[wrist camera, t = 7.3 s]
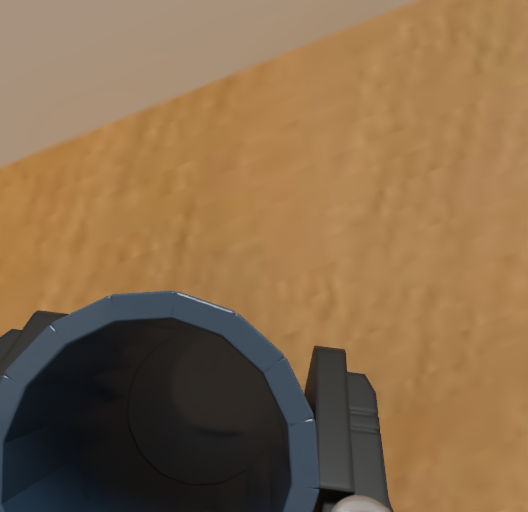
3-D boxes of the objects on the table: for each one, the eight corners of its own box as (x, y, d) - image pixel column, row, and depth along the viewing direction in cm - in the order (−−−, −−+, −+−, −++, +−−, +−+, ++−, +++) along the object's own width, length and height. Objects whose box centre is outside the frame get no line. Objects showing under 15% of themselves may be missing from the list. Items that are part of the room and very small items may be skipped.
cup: (91, 362, 17) (-77, 382, 9) (245, 288, 17) (228, 238, 9) (160, 527, 16) (48, 730, 8) (320, 445, 16) (380, 551, 8)
